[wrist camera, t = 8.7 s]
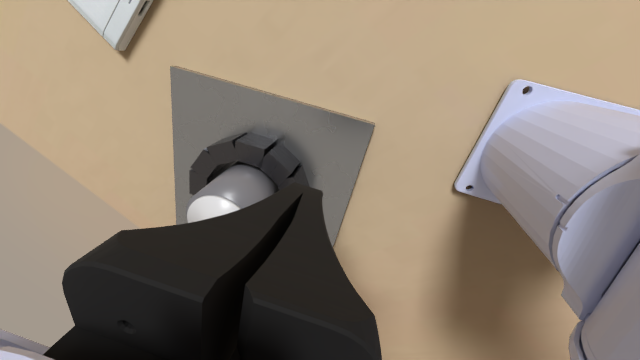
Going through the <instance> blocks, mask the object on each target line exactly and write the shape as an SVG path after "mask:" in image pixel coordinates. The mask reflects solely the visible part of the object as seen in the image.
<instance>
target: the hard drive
mask: <svg viewBox="0 0 640 360" xmlns="http://www.w3.org/2000/svg"><path fill="white" fill-rule="evenodd" d="M68 1H69V2H70V4H71V5H72V6H73V7H74V8H75V9H76V10H77V11H78V12H79V13H80V14H81V15H82V16H83V17H84V18H85V19H86V20H87V21H88V22H89V23H90V24H91V25H92V26H93V27H94V28H95V29H96V31H97V32H98V33H99V34H100V35H101V36H102V37H104V39H105V40H106V41H107V42H108V43H109V44H110V45H111V46H112V47H113V48H114V49H115V50H119V51H125V50H126V48H127V46H128V44H129V43H130V41H131V39H132V37H133V35H134V34H135V32H136V30H137V28H138V27H139V25H140V23H141V21H142V20H143V18H144V16H145V14H146V13H147V11H148V9H149V7H150V6H151V4H152V2H153V0H68Z"/></svg>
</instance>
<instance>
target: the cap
mask: <svg viewBox="0 0 640 360" xmlns="http://www.w3.org/2000/svg"><path fill="white" fill-rule="evenodd" d="M278 191H279V189H278V186H277V184H276V183H275V182H274V181H273V180H272V179H271V178H270V177H269V176H268V175H267V174H266V173H264V172H263V171H262V170H261V169H260V168H259V167H256V166H253V165H250V164H246V163H243V162H240V161H237V162H236V163H234V164H233V165H232V166H230V167H229V168H228V169H227V170H225V171H224V172H223V173H222V174H220V175H219V176H218V177H217V178H215V179H214V180H213V181H211V182H210V183H209V184H208V185H206V186H205V187H204V188H203V189H201V190H200V191H199V192H197V193H196V194H195V195H194V196H193V197H191V199H190V200H189V201H188V203H187V207H186V218H187V221H188V223H191V222H196V221H201V220H205V219H209V218H213V217H217V216H221V215H225V214H228V213H231V212H234V211H237V210H240V209H242V208H245V207H248V206H250V205H252V204H254V203H257V202H259V201H261V200H263V199H265V198H267V197H269V196H271V195H273V194H274V193H276V192H278Z"/></svg>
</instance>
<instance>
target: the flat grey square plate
mask: <svg viewBox="0 0 640 360" xmlns="http://www.w3.org/2000/svg"><path fill="white" fill-rule="evenodd" d="M170 72H171V97H172V123H173V148H174V174H175V200H176V225H179V224H185V223H188V221H187V218H186V207H187V203H188V201H189V200H190V199H191V197H193V196H194V195H195V194H196V193H197V192H199V191H200V190H201V189H203V188H204V187H205V186H206V185H208V184H209V183H210V182H211V181H213V180H214V179H215V178H217V177H218V176H219V175H220V174H222V173H223V172H224V171H225V170H227V169H228V168H229V167H230V166H232V165H233V164H234V163H236V162H237V161H240V162H243V163H246V164H250V165H253V166H256V167H259V168H260V169H261V170H262V171H263V172H264V173H266V174H267V175H268V176H269V177H270V178H271V179H272V180H273V181H274V182H275V183H276V184H277V186H278V189H279V191H280V190H282V189H283V188H285V187H287V186H288V185H290V184H292V183H294V182H295V183H298V184H302V185H305V186H308V187H312V188H315V189H318V190H321V191H322V192H323V197H322V206H323V214H324V220H325V225H326V229H327V232H328V236H329V239H330V242H331V245H332V247H333V246H334V243H335V240H336V237H337V234H338V231H339V228H340V225H341V222H342V219H343V216H344V213H345V211H346V208H347V205H348V202H349V199H350V196H351V193H352V190H353V187H354V184H355V181H356V178H357V175H358V172H359V169H360V167H361V164H362V161H363V158H364V155H365V152H366V149H367V146H368V143H369V140H370V137H371V134H372V131H373V128H374V126H375V123H373V122H369V121H366V120H362V119H359V118H355V117H352V116H348V115H345V114H341V113H338V112H334V111H331V110H327V109H324V108H321V107H317V106H314V105H310V104H307V103H303V102H300V101H296V100H293V99H289V98H286V97H282V96H279V95H275V94H272V93H268V92H265V91H261V90H258V89H254V88H251V87H247V86H244V85H240V84H237V83H233V82H230V81H226V80H223V79H220V78H216V77H213V76H209V75H206V74H202V73H199V72H195V71H192V70H188V69H185V68H181V67H178V66H170Z"/></svg>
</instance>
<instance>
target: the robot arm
mask: <svg viewBox="0 0 640 360" xmlns="http://www.w3.org/2000/svg"><path fill="white" fill-rule="evenodd" d="M527 86H529V91H528V92H527V93H526V94H523V93H522V91H523V89H524V88H525V87H527ZM468 185H472V187H471V188H470V189H466V187H467V186H468ZM454 186H455V188H456V190H457V191H459V192H462V193H465V194H469V195H472V196H475V197H479V198H482V199H485V200H489V201H492V202H495V203H499V204H502V205H503V206H504V207H505V208H506V210H507V211H508V212H509V213H510V214H511V215H512V217H513V218H514V219H515V220H516V221H517V223H518V224H519V225H520V226H521V227H522V229H523V230H524V231H525V232H526V233H527V235H528V236H529V237H530V238H531V239H532V241H533V242H534V243H535V244H536V245H537V247H538V248H539V249H540V250H541V251H542V252H543V254H544V255H545V256H546V257H547V258H548V260H549V261H550V262H551V263H552V264H553V266H554V267H555V268H556V269H557V270H558V271H559V272H560V274H561V276H562V278H563V280H564V289H563V291H562V294H561V296H562V297H563V298H564V300H565V301H566V302H567V304H568V305H569V306H570V308H571V309H572V310H573V311H574V313H575V314H576V315H577V317H578V318H579V319H580V320H582V321H580V322H578V323H577V325H576V326H575V328H574V329H573V331H572V333H571V335H570V339H569V353H570V359H571V360H640V110H637V109H634V108H630V107H626V106H622V105H618V104H614V103H611V102H607V101H603V100H599V99H595V98H591V97H588V96H584V95H580V94H576V93H572V92H568V91H565V90H561V89H557V88H553V87H549V86H545V85H542V84H538V83H534V82H530V81H526V80H522V79H517V80H514V81H512V82H511V83H510V84H509V85H508V87H507V89H506V90H505V92H504V94H503V96H502V98H501V100H500V101H499V103H498V105H497V107H496V109H495V110H494V112H493V114H492V116H491V118H490V119H489V121H488V123H487V125H486V127H485V129H484V130H483V132H482V134H481V136H480V138H479V139H478V141H477V143H476V145H475V147H474V148H473V150H472V152H471V154H470V156H469V158H468V159H467V161H466V163H465V165H464V167H463V168H462V170H461V172H460V174H459V176H458V177H457V179H456V181H455V183H454ZM322 197H323V192H322V191H321V190H318V189H315V188H312V187H308V186H305V185H302V184H298V183H295V182H294V183H292V184H290V185H288V186H287V187H285V188H283V189H282V190H280V191H278V192H276V193H274V194H273V195H271V196H269V197H267V198H265V199H263V200H261V201H259V202H257V203H254V204H252V205H250V206H248V207H245V208H242V209H240V210H237V211H234V212H231V213H228V214H225V215H221V216H217V217H213V218H209V219H205V220H201V221H196V222H191V223H185V224H179V225H173V226H165V227H156V228H146V229H135V230H122V231H120V232H118V233H117V234H115V235H114V236H112V237H111V238H110V239H108V240H106V241H105V242H104V243H102V244H101V245H99V246H98V247H96V248H95V249H93V250H92V251H90V252H89V253H87V254H86V255H84V256H83V257H82V258H80V259H78V260H77V261H76V262H74V263H73V264H71V265H70V266H69V267H68V268H67V269H66V270H65V272H64V276H63V281H62V285H63V290H64V295H65V298H66V300H67V303H68V306H69V309H70V312H71V315H72V318H73V320H74V323H75V326H74V327H73V328H72V329H71V330H70V331H69V332H68V333H66V334H65V335H64V336H63V337H62V338H61V339H60V340H59V341H57V342H56V343H55V344H54V345H53V346H52V347H51V348H50V347H47V346H44V345H42V344H39V343H37V342H34V341H31V340H29V339H26V338H23V337H21V336H18V335H15V334H13V333H10V332H7V331H5V330H2V329H0V360H382V356H381V348H380V341H379V335H378V329H377V324H376V320H375V316H374V314H373V313H372V312H371V310H370V309H369V308H368V306H367V305H366V304H365V302H364V301H363V300H362V299H361V297H360V296H359V295H358V293H357V292H356V291H355V289H354V288H353V286H352V284H351V283H350V281H349V280H348V278H347V276H346V274H345V272H344V270H343V269H342V267H341V265H340V263H339V261H338V259H337V257H336V254H335V252H334V250H333V247H332V245H331V242H330V239H329V236H328V232H327V229H326V225H325V220H324V214H323V206H322ZM583 319H584V320H583Z"/></svg>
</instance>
